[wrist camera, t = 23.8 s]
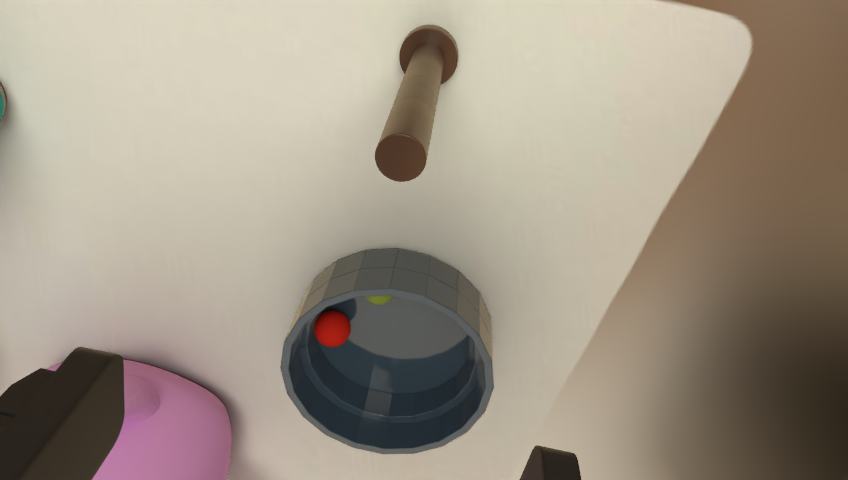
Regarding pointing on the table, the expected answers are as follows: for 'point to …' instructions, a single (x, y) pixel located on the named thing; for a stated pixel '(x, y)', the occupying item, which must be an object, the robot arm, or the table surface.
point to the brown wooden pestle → (416, 102)
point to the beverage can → (2, 102)
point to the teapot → (168, 430)
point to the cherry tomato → (332, 328)
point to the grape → (379, 299)
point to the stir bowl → (392, 354)
